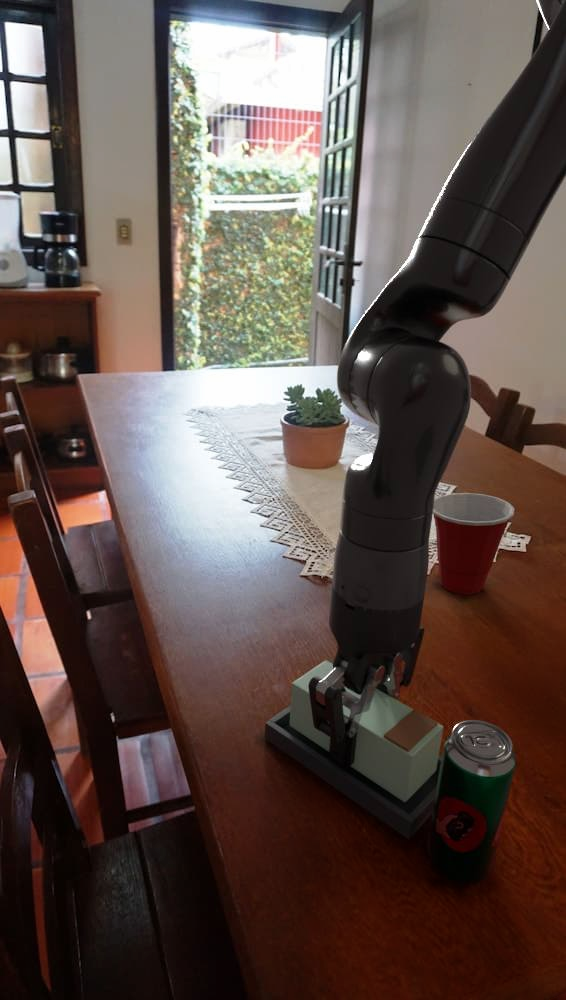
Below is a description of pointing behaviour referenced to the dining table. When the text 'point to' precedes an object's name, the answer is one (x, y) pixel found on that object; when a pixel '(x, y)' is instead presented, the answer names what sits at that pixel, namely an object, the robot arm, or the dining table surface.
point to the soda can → (470, 801)
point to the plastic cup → (468, 538)
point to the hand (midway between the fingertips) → (360, 744)
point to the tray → (355, 779)
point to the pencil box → (378, 737)
